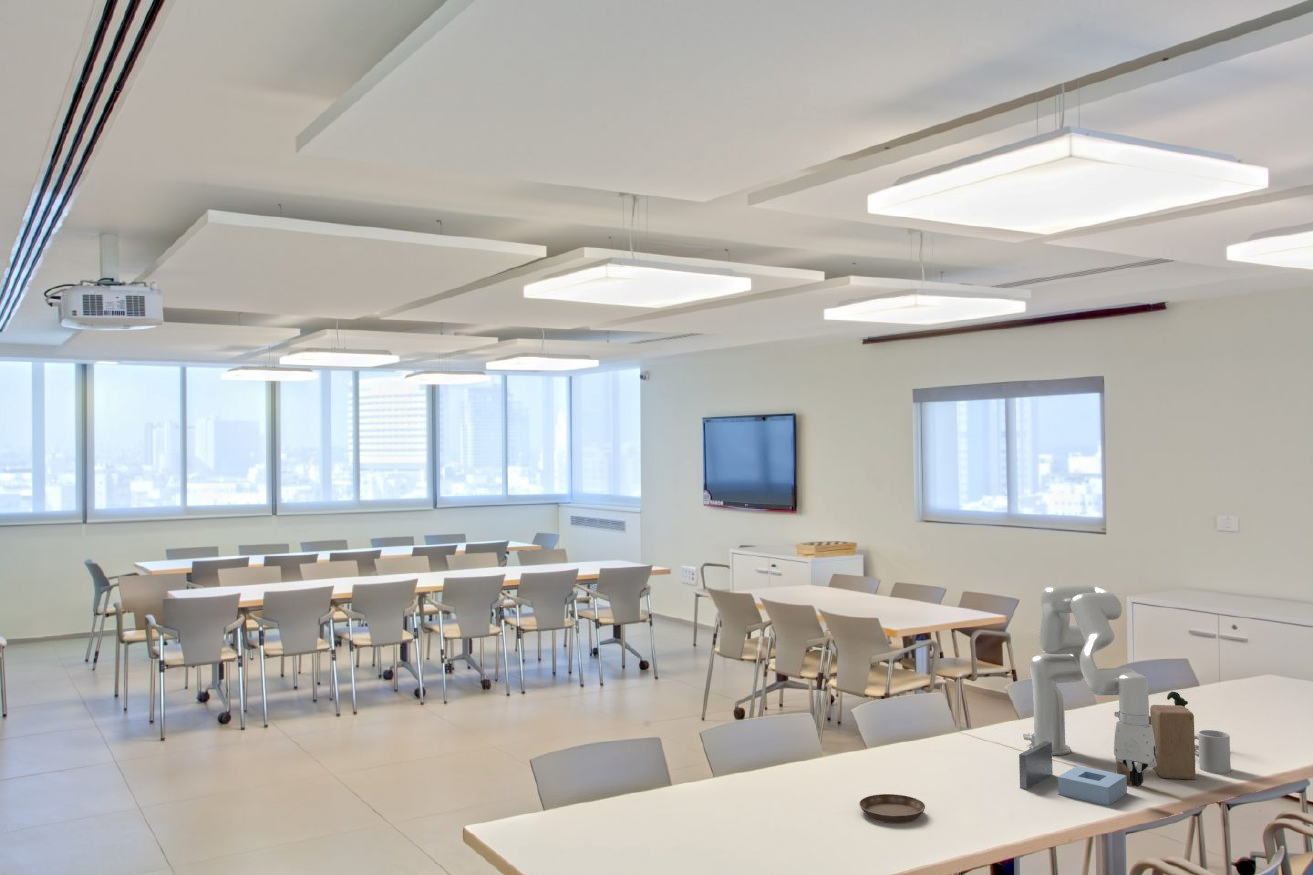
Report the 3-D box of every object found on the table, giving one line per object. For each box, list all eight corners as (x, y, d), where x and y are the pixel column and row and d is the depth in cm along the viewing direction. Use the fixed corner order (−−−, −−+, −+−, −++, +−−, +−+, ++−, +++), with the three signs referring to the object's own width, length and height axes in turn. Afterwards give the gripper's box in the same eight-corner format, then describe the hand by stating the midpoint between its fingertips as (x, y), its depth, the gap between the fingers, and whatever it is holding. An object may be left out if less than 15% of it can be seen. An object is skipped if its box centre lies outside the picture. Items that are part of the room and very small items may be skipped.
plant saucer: (846, 809, 277) (846, 798, 277) (898, 800, 284) (898, 789, 284) (885, 831, 261) (885, 819, 261) (939, 820, 268) (939, 808, 268)
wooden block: (1196, 780, 296) (1194, 713, 296) (1160, 778, 298) (1158, 711, 298) (1186, 770, 306) (1184, 704, 306) (1151, 768, 308) (1149, 703, 308)
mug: (1236, 770, 304) (1235, 734, 304) (1219, 775, 300) (1218, 738, 300) (1199, 760, 315) (1198, 725, 315) (1182, 764, 311) (1181, 729, 311)
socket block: (1058, 794, 285) (1057, 776, 285) (1077, 782, 295) (1077, 765, 295) (1108, 805, 275) (1107, 787, 276) (1127, 792, 285) (1126, 775, 285)
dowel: (1114, 783, 295) (1113, 742, 295) (1119, 779, 297) (1118, 739, 298) (1128, 786, 292) (1127, 745, 292) (1133, 782, 295) (1132, 742, 295)
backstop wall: (1019, 788, 291) (1019, 754, 292) (1046, 773, 304) (1045, 741, 304) (1026, 789, 290) (1025, 755, 290) (1052, 775, 303) (1051, 742, 303)
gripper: (1101, 717, 280) (1104, 782, 279) (1158, 725, 269) (1160, 794, 269) (1111, 712, 285) (1114, 776, 284) (1167, 720, 275) (1170, 787, 274)
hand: (1136, 785), depth 277 cm, fingers closed
